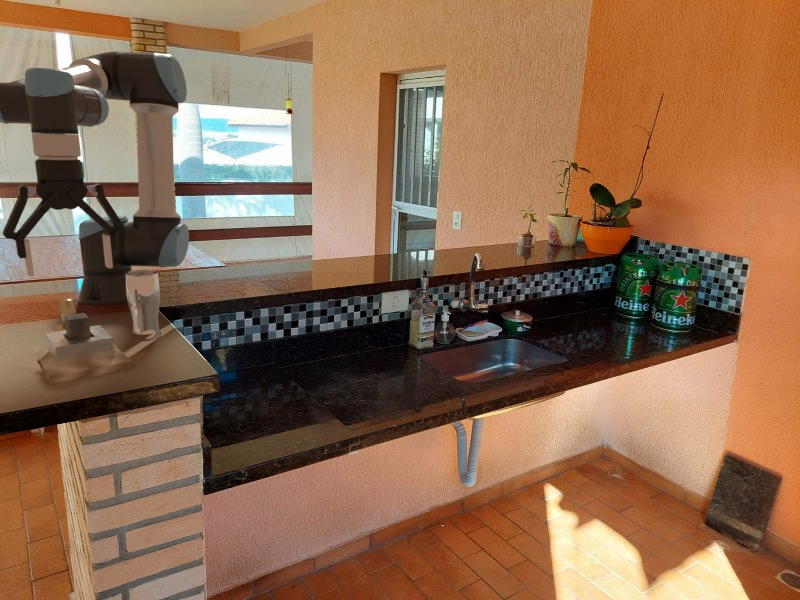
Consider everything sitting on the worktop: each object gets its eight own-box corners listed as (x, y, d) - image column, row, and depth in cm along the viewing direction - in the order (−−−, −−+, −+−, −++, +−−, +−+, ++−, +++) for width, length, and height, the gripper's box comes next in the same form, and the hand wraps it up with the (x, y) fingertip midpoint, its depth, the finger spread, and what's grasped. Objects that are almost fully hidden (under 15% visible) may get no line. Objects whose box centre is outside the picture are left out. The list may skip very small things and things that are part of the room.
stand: (84, 327, 140) (80, 294, 137) (91, 334, 134) (87, 301, 132) (50, 332, 135) (46, 298, 133) (56, 340, 130) (52, 305, 128)
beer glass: (168, 337, 135) (164, 273, 131) (138, 343, 130) (132, 277, 126) (154, 330, 139) (150, 268, 135) (124, 336, 134) (119, 272, 130)
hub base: (107, 342, 130) (103, 301, 127) (131, 368, 116) (127, 322, 114) (33, 355, 121) (27, 311, 119) (50, 384, 108) (44, 334, 105)
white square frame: (101, 342, 125) (99, 325, 124) (114, 356, 118) (112, 337, 117) (47, 352, 119) (45, 333, 118) (57, 367, 112) (55, 347, 111)
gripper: (124, 157, 119) (133, 260, 125) (-27, 156, 103) (-9, 274, 109) (135, 159, 113) (144, 267, 119) (-22, 158, 98) (-4, 282, 104)
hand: (71, 271), depth 114 cm, fingers open, 13 cm apart
